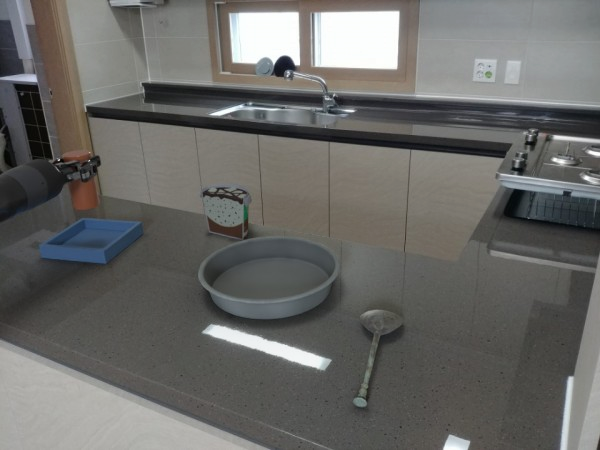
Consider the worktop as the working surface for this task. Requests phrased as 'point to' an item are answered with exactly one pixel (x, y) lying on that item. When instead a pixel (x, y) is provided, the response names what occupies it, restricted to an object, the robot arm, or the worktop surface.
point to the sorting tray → (91, 240)
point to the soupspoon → (375, 342)
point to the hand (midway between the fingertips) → (85, 159)
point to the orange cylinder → (82, 184)
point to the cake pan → (269, 276)
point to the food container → (227, 209)
